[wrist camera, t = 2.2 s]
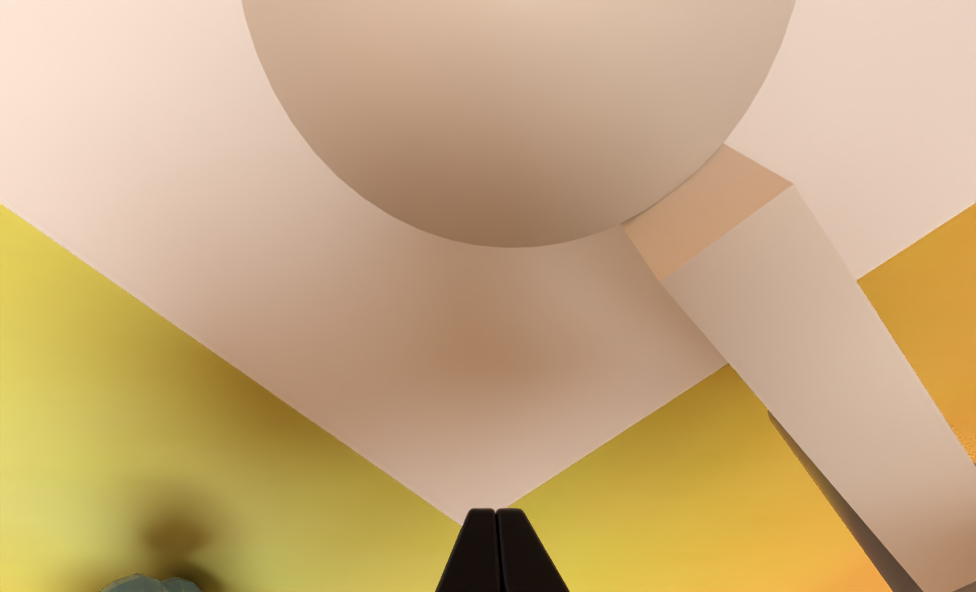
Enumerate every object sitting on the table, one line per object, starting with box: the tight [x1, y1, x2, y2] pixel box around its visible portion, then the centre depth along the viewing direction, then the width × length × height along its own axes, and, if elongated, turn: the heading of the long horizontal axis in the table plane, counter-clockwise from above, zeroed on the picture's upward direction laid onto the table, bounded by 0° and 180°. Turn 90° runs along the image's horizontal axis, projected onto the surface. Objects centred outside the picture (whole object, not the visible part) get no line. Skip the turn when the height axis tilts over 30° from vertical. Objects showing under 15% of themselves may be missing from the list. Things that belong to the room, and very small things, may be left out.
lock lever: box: [241, 0, 976, 592], centre depth 8 cm, size 15×6×4 cm, turn 42°
